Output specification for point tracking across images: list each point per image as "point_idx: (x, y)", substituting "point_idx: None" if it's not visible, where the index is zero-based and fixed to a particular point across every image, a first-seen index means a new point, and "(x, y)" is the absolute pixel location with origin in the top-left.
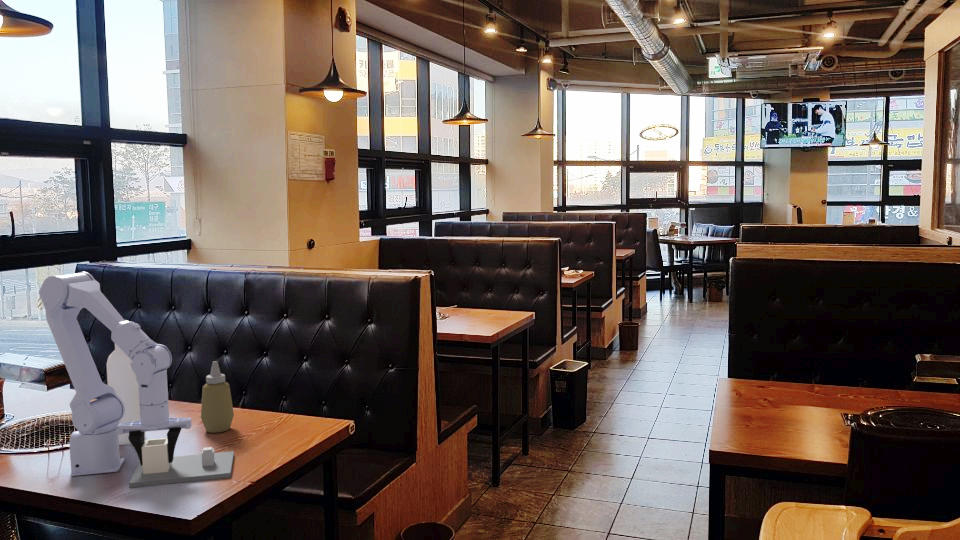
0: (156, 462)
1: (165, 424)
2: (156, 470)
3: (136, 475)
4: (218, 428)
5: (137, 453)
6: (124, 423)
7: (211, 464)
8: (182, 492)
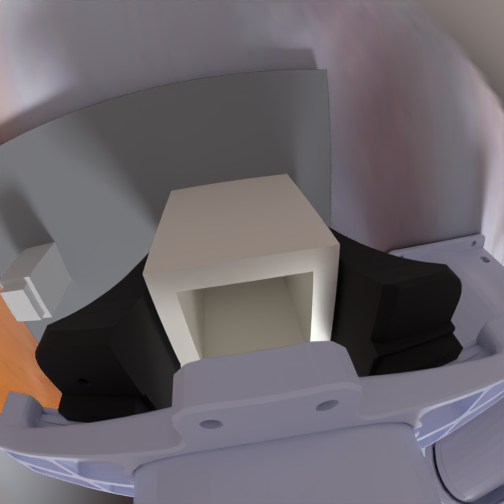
0: (224, 202)
1: (113, 450)
2: (225, 186)
3: (314, 162)
4: None
5: (350, 239)
6: (485, 405)
7: (28, 250)
8: (64, 9)
